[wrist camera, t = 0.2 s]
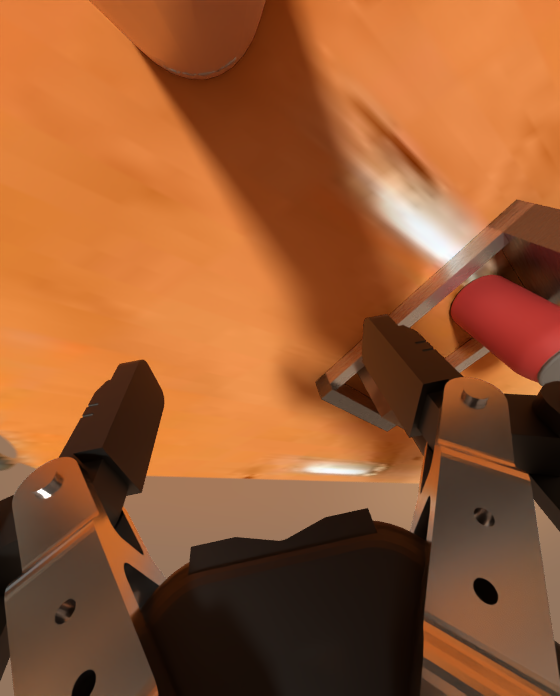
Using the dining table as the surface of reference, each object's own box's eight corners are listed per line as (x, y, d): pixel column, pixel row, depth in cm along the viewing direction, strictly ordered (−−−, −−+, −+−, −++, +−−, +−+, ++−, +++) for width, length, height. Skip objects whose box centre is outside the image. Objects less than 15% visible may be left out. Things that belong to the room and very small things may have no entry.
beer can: (486, 320, 35) (581, 388, 26) (439, 324, 34) (519, 396, 25) (514, 270, 31) (638, 330, 22) (461, 273, 30) (566, 337, 21)
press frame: (516, 199, 26) (607, 220, 20) (558, 283, 33) (635, 318, 27) (315, 382, 37) (333, 432, 31) (378, 415, 44) (403, 462, 38)
